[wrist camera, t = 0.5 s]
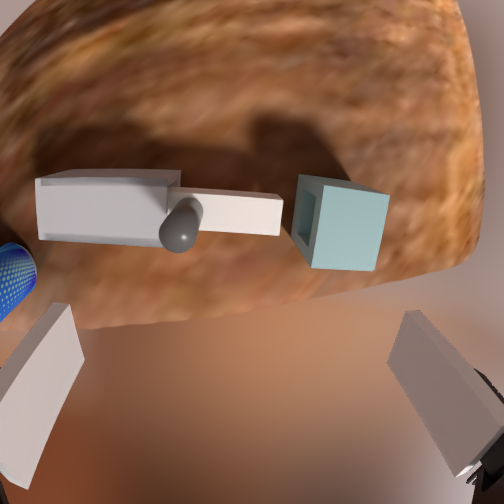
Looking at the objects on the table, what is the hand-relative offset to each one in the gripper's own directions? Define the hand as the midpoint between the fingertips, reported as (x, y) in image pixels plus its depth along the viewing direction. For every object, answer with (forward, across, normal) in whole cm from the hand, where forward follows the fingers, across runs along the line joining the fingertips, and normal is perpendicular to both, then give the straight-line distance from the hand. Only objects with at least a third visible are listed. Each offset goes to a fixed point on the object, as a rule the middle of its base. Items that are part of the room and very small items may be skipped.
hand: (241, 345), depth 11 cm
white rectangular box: (+27, -13, 0) cm, 30 cm away
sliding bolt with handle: (+24, -7, 0) cm, 25 cm away
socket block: (+27, +11, 0) cm, 30 cm away
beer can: (+27, -32, -10) cm, 44 cm away
